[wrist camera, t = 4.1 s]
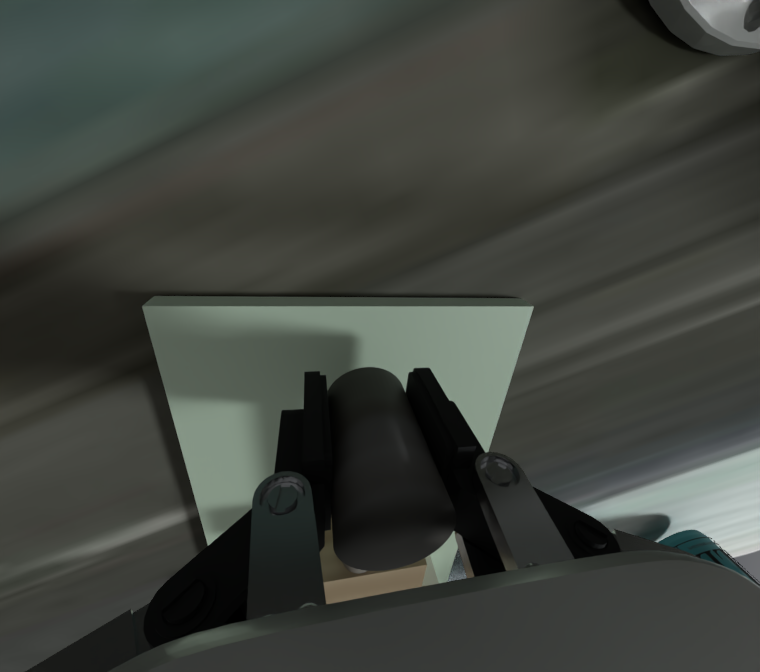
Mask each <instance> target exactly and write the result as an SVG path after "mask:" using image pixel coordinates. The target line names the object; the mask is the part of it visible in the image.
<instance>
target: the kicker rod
mask: <svg viewBox="0 0 760 672" xmlns="http://www.w3.org/2000/svg"><path fill="white" fill-rule="evenodd" d="M327 393H328V405H329V418H330V430H331V442H332V459H333V470H332V493H331V499H330V502H331V530H327V531H325V546H324V547H323V549H322V550H321V551H320V560H321V567H322V575H323V583H324V590H325V598H326V604H331V603H337V602H342V601H347V600H353V599H358V598H363V597H369V596H374V595H379V594H385V593H390V592H395V591H401V590H406V589H411V588H417V587H422V583H423V579H424V575H425V571H426V567H427V563H426V559H425V558H426V557H427V556H429V555H430V554H432V553H433V552H435V551H436V550H438V549H439V548H440V547H441V546H442V545H443V544H444V543H445V542H446V541H447V540H448V539H449V537H450V536H451V534H452V532H453V531H454V528H455V526H456V512H455V509H454V507H453V504H452V502H451V500H450V497H449V495H448V492H447V490H446V488H445V485H444V483H443V481H442V478H441V476H440V473H439V471H438V469H437V466H436V464H435V462H434V459H433V457H432V454H431V452H430V450H429V447H428V445H427V443H426V440H425V438H424V435H423V433H422V431H421V428H420V426H419V424H418V421H417V419H416V417H415V414H414V412H413V409H412V407H411V405H410V402H409V400H408V398H407V395H406V393H405V390H404V388H403V386H402V384H401V382H400V380H399V379H398V378H397V377H396V376H395V375H394V374H392V373H391V372H389V371H387V370H384V369H381V368H376V367H363V368H358V369H354V370H351V371H349V372H347V373H345V374H343V375H341V376H340V377H339V378H338V379H336V380H335V381H334V382H333V384H332V385H331V386H330V388H329V389H328V391H327Z"/></svg>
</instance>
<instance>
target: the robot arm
mask: <svg viewBox="0 0 760 672" xmlns="http://www.w3.org/2000/svg"><path fill="white" fill-rule="evenodd" d="M649 3H650V5H651V6H652V8H653V9H654V10H655V12H656V13H657V14H658V16H659V17H660V19H661V20H662V21H663V23H664V24H665V25H666V27H667V28H668V29H669V31H670V32H672V33H673V34H674V35H676V36H677V37H678V38H680V39H681V40H683V41H684V42H685V43H687V44H688V45H689V46H691V47H692V48H694V49H698V50H701V51H704V52H708V53H711V54H714V55H718V56H728V55H748V54H752V53H756V52H760V0H649ZM406 395H407V398H408V400H409V402H410V405H411V407H412V409H413V412H414V414H415V417H416V419H417V421H418V424H419V426H420V428H421V431H422V433H423V435H424V438H425V440H426V443H427V445H428V447H429V450H430V452H431V454H432V457H433V459H434V462H435V464H436V466H437V469H438V471H439V473H440V476H441V478H442V481H443V483H444V485H445V488H446V490H447V492H448V495H449V497H450V500H451V502H452V504H453V507H454V509H455V512H456V526H455V528H454V531H455V538H456V542H457V545H458V549H459V552H460V556H461V559H462V562H463V566H464V569H465V573H466V576H467V578H466V579H461V580H455V581H450V582H444V583H439V584H433V585H428V586H422V587H417V588H411V589H406V590H401V591H395V592H390V593H385V594H379V595H374V596H369V597H363V598H358V599H353V600H347V601H342V602H337V603H331V604H326V598H325V590H324V583H323V575H322V567H321V560H320V551H321V550H322V549H323V547H324V546H325V531H327V530H331V502H330V499H331V493H332V470H333V459H332V442H331V430H330V418H329V405H328V393H327V380H326V375H320V371H310V372H304V409H294V410H282V411H281V418H280V427H279V436H278V444H277V453H276V462H275V470H274V474H273V475H271V476H269V477H267V478H266V479H264V480H263V481H262V482H261V483H260V484H259V485H258V487H257V489H256V490H255V492H254V496H253V500H252V509H250V510H249V511H248V512H247V513H246V514H245V515H243V516H242V517H241V518H240V519H239V520H238V521H236V522H235V523H234V524H233V525H232V526H231V527H229V528H228V529H227V530H226V531H225V532H224V533H222V534H221V535H220V536H219V537H218V538H217V539H215V540H214V541H213V542H212V543H211V544H210V545H208V546H207V547H206V548H205V549H204V550H203V551H201V552H200V553H199V554H198V555H197V556H196V557H195V558H193V559H192V560H191V561H190V562H189V563H188V564H186V565H185V566H184V567H183V568H182V569H181V570H179V571H178V572H177V573H176V574H175V575H174V576H172V577H171V578H170V579H169V580H168V581H167V582H166V583H165V584H164V585H163V586H162V587H161V588H160V589H159V590H158V591H157V593H156V594H155V596H154V597H153V599H152V600H151V602H150V603H149V604H147V605H145V606H144V607H142V608H140V609H139V610H137V611H135V612H134V613H133V612H132V610H131V609H130V610H128V611H126V612H125V613H123V614H121V615H120V616H118V617H116V618H115V619H113V620H111V621H109V622H108V623H106V624H104V625H103V626H101V627H99V628H98V629H96V630H94V631H93V632H91V633H89V634H88V635H86V636H84V637H83V638H81V639H79V640H78V641H76V642H74V643H72V644H71V645H69V646H67V647H66V648H64V649H62V650H61V651H59V652H57V653H56V654H54V655H52V656H51V657H49V658H47V659H46V660H44V661H42V662H40V663H39V664H37V665H35V666H34V667H32V668H30V669H29V670H27V671H25V672H760V586H758V585H757V584H756V583H754V582H753V581H751V580H750V579H748V578H747V577H745V576H743V575H741V574H739V573H738V572H736V571H734V570H732V569H729V568H727V567H724V566H722V565H719V564H716V563H713V562H711V561H707V560H704V559H700V558H699V557H697V556H695V555H693V554H691V553H689V552H686V551H683V550H680V549H677V548H673V547H670V546H667V545H664V544H660V543H657V542H654V541H651V540H647V539H644V538H641V537H638V536H634V535H631V534H628V533H625V532H622V531H618V530H615V529H614V530H613V532H612V533H611V532H610V531H609V530H608V529H607V528H606V527H605V526H604V525H603V524H602V523H601V522H599V521H598V520H596V519H594V518H593V517H591V516H589V515H587V514H585V513H583V512H581V511H580V510H578V509H576V508H574V507H572V506H570V505H568V504H566V503H564V502H562V501H560V500H558V499H556V498H554V497H552V496H550V495H548V494H546V493H544V492H542V491H540V490H538V489H536V488H534V487H532V485H531V483H530V482H529V480H528V478H527V477H526V475H525V473H524V471H523V470H522V469H521V467H520V466H519V465H518V464H517V463H516V462H515V461H514V460H513V459H511V458H509V457H507V456H506V455H503V454H500V453H497V452H485V451H484V449H483V448H482V446H481V444H480V443H479V441H478V440H477V438H476V436H475V435H474V433H473V431H472V430H471V428H470V427H469V425H468V423H467V422H466V420H465V418H464V417H463V415H462V414H461V412H460V410H459V409H458V407H457V405H456V404H455V403H454V402H453V401H449V399H448V398H447V396H446V394H445V393H444V391H443V389H442V388H441V386H440V384H439V383H438V381H437V379H436V378H435V376H434V374H433V372H432V371H431V369H430V368H414V369H413V372H409V374H408V379H407V386H406Z"/></svg>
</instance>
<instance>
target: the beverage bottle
mask: <svg viewBox="0 0 760 672" xmlns="http://www.w3.org/2000/svg"><path fill="white" fill-rule="evenodd" d="M709 538H710V537H707V536H706V535H704V534H702V533H701V532H699V531H697V530H686V531H682V532H679V533H676V534H673V535H671V536H669V537H667V538H665V539H663V540H661V541H660V542H658V543H660V544H664V545H667V546H670V547H673V548H677V549H680V550H683V551H686V552H689V553H691V554H693V555H695V556H697V557H699V558H700V559H704V560H707V561H711V562H713V563H716V564H719V565H722V566H724V567H727V568H729V569H732V570H734V571H736V572H738V573H739V574H741V575H743V576H745V577H747V578H748V579H750V580H751V581H753V582H754V583H756V584H757V585H758V586H760V584H758V583H757V582H756V581H755V580H754V579H753V578H752V577H751V576H750V575H749V574H748V573H746V572H745V571H744V570H743V569H742V568H741V567H740V566H739V565H740V564H739V563H738V564H739V565H738V564H737V563H736V562H734V561H733V560H732V559H734V558H733V557H732V556H731V555H729V554H728V553H727V552H726V551H725V550H724V551H725V552H726V553H727V554H726V553H725V552H724V551H723V549H722V548H721V549H720V548H719V547H720V545H719V544H718V545H719V547H718V546H717V545H716V544H717V543H715V541H714V542H712V541H711V540H710V539H709ZM711 539H712V538H711ZM728 555H729V556H730V557H731V558H732V559H731V558H730V557H729V556H728ZM734 560H735V559H734ZM742 567H743V566H742Z"/></svg>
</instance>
